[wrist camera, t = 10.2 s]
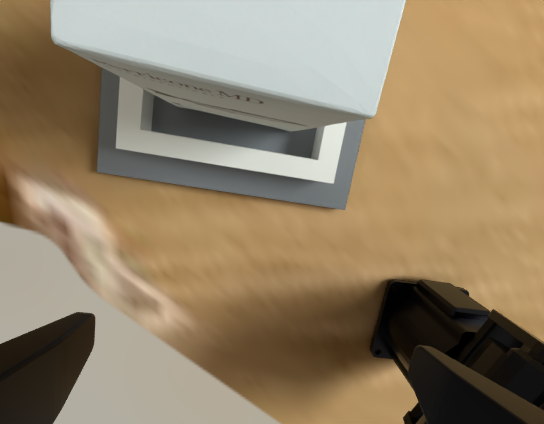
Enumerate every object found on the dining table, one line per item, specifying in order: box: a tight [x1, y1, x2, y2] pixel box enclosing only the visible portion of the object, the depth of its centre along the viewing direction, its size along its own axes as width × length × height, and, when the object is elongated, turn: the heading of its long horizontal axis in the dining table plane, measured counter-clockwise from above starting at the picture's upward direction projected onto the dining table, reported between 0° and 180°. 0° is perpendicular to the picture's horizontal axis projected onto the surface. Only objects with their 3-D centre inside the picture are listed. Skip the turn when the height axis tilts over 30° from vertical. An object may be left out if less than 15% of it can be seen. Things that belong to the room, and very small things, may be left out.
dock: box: [97, 68, 365, 210], centre depth 17 cm, size 16×16×3 cm
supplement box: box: [50, 0, 406, 132], centre depth 12 cm, size 7×7×13 cm
